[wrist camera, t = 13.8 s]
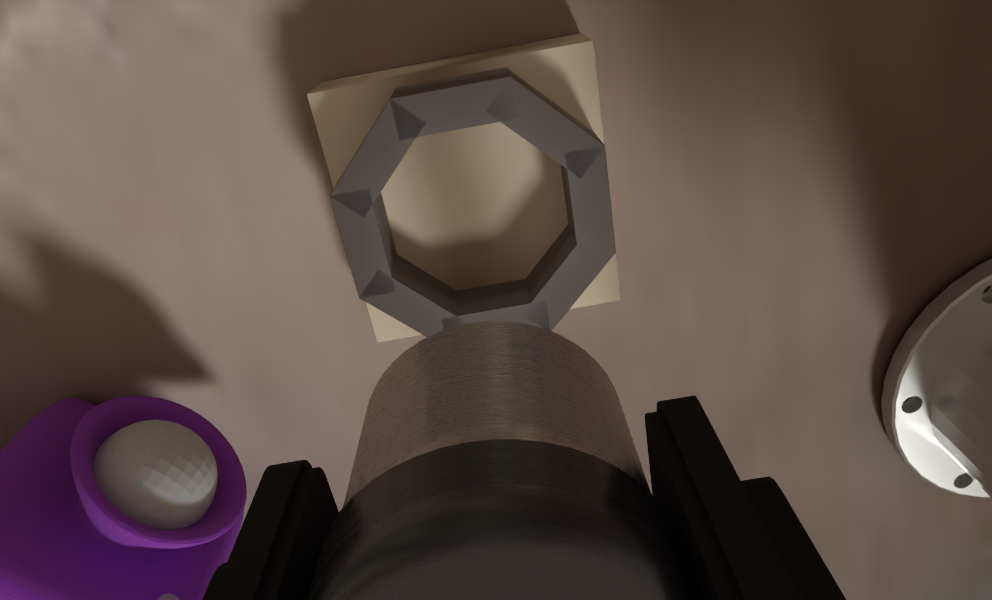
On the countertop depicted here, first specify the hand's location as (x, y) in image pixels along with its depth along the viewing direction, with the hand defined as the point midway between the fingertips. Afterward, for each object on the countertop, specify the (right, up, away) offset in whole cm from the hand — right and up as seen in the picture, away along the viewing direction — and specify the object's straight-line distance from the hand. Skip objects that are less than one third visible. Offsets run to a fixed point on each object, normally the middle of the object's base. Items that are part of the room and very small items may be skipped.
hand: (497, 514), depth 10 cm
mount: (-1, +7, +15) cm, 17 cm away
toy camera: (-16, -4, +21) cm, 26 cm away
